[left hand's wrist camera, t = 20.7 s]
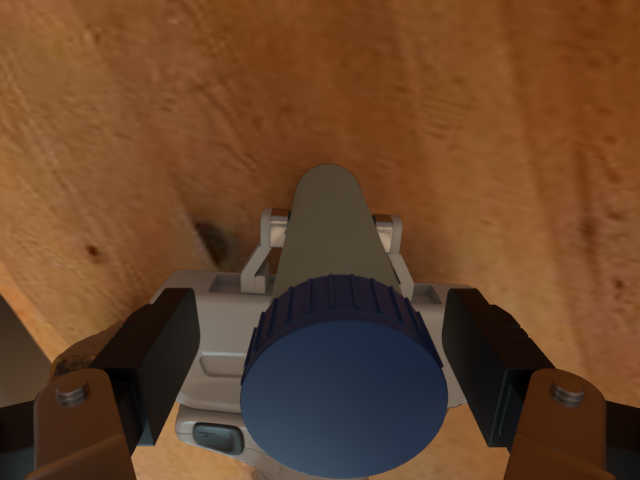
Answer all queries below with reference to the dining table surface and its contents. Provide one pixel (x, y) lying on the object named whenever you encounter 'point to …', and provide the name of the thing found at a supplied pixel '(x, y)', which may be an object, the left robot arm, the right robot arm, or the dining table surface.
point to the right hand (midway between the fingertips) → (331, 213)
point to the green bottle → (331, 233)
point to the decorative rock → (81, 353)
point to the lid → (342, 379)
